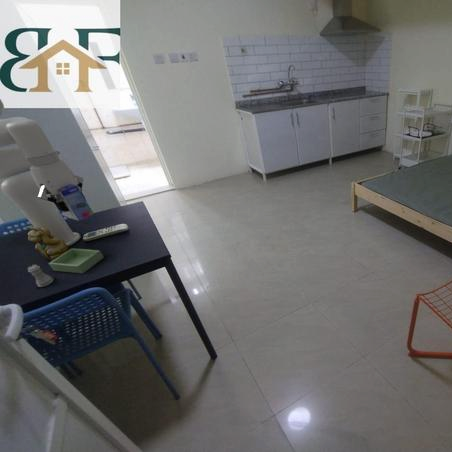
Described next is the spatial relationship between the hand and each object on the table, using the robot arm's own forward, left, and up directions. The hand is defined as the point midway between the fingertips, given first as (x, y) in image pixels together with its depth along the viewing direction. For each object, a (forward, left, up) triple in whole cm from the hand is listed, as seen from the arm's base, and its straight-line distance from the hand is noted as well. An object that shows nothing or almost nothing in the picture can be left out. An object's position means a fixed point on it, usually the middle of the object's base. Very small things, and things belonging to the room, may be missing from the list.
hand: (73, 205), depth 102 cm
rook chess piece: (-8, -17, -23) cm, 30 cm away
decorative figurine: (-21, -2, -23) cm, 31 cm away
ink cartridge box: (0, 0, -4) cm, 4 cm away
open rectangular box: (-6, -6, -23) cm, 25 cm away
